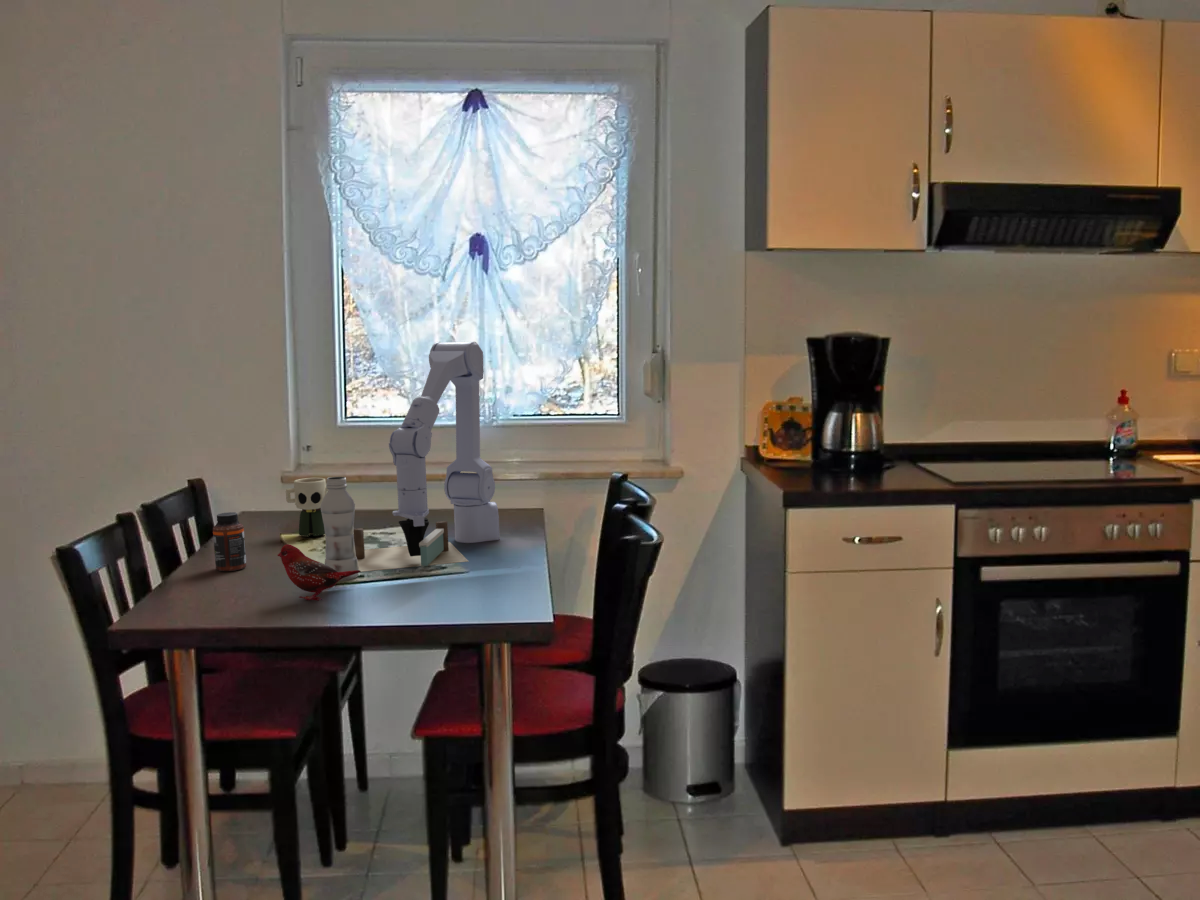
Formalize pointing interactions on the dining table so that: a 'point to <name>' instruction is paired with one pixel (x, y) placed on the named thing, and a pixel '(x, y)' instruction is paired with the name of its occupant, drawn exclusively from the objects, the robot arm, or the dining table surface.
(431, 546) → the gate
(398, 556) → the gate frame
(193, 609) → the dining table surface
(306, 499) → the character mug
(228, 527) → the supplement bottle
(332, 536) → the plastic bottle
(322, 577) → the decorative bird figurine
